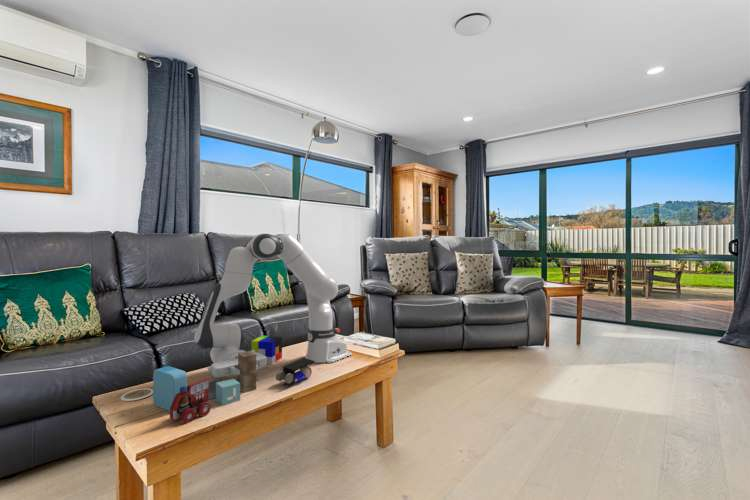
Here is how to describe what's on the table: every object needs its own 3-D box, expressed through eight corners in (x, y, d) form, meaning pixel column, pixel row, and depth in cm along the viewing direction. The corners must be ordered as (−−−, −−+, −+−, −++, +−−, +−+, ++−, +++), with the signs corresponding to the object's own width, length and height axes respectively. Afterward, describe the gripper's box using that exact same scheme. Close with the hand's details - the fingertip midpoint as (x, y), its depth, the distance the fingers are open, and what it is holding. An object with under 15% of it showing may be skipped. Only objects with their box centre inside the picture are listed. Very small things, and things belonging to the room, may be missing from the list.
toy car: (288, 393, 135) (316, 376, 148) (287, 374, 134) (314, 358, 147) (276, 389, 139) (303, 373, 152) (274, 370, 138) (302, 355, 151)
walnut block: (249, 385, 139) (249, 351, 139) (256, 389, 135) (256, 354, 135) (238, 388, 136) (238, 353, 136) (244, 392, 132) (244, 356, 132)
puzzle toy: (271, 364, 163) (271, 342, 163) (251, 363, 165) (251, 341, 165) (281, 357, 173) (282, 336, 173) (262, 356, 175) (262, 335, 175)
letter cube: (233, 395, 130) (233, 378, 130) (240, 400, 126) (240, 383, 126) (215, 399, 126) (215, 382, 126) (222, 405, 122) (222, 387, 122)
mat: (220, 380, 144) (220, 379, 144) (237, 392, 132) (237, 391, 132) (193, 386, 137) (193, 385, 137) (208, 400, 126) (208, 399, 126)
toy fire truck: (164, 422, 110) (164, 387, 110) (202, 406, 121) (202, 375, 121) (176, 428, 107) (176, 392, 107) (215, 411, 117) (215, 379, 117)
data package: (187, 407, 120) (187, 371, 120) (173, 413, 116) (173, 375, 116) (166, 399, 126) (166, 364, 126) (152, 404, 122) (152, 368, 122)
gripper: (205, 359, 138) (219, 368, 128) (257, 348, 152) (273, 356, 142) (205, 375, 138) (219, 386, 128) (257, 363, 152) (273, 372, 142)
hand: (248, 370), depth 135 cm, fingers closed on walnut block, 4 cm apart
